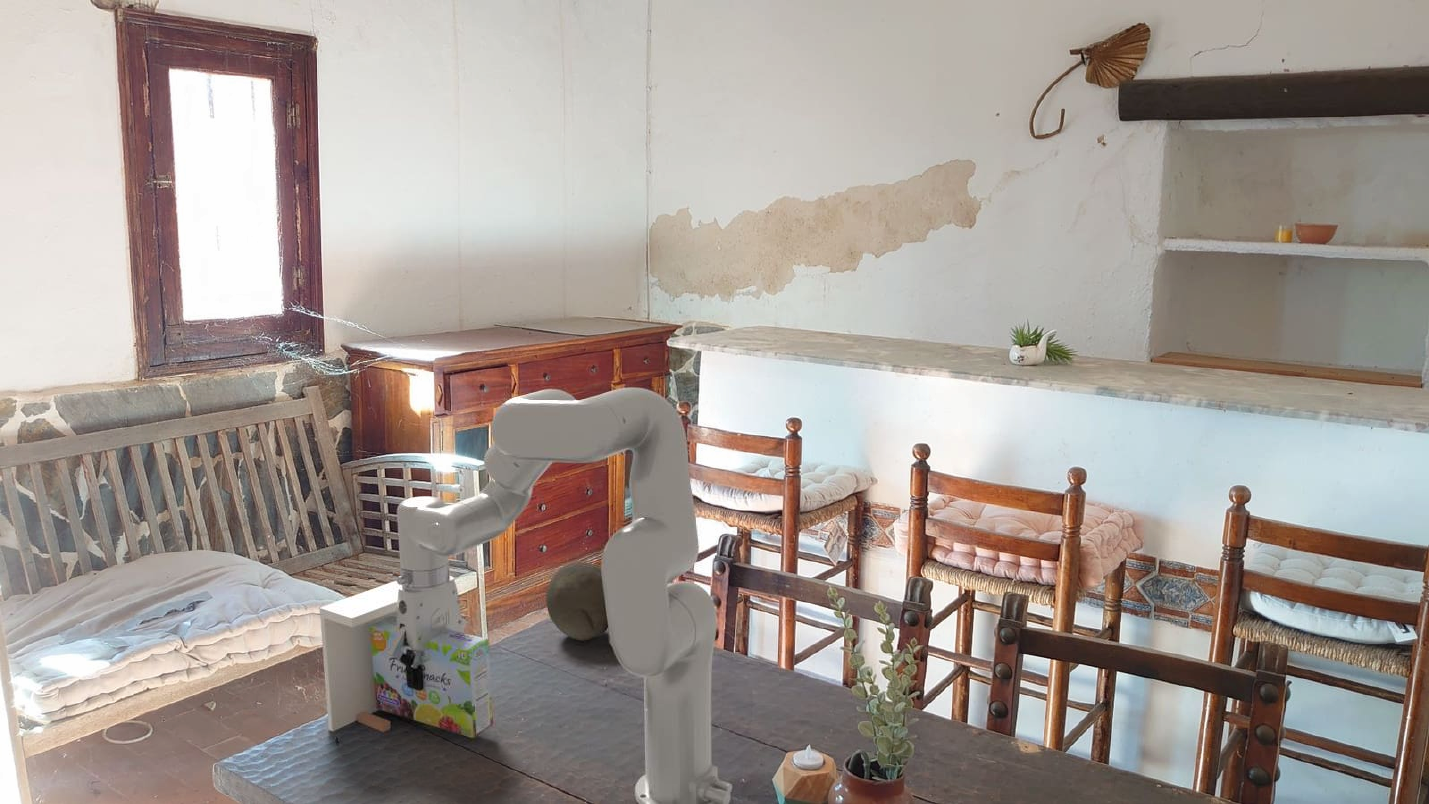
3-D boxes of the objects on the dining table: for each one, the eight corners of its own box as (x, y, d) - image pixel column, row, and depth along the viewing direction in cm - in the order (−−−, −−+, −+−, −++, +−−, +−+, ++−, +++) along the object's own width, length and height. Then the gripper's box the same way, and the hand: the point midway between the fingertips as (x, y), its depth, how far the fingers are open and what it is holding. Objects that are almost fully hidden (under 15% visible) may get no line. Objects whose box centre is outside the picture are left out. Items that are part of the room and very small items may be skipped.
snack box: (373, 711, 176) (367, 625, 173) (397, 698, 181) (392, 613, 178) (472, 739, 166) (468, 648, 164) (495, 724, 171) (491, 636, 168)
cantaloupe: (628, 629, 215) (627, 558, 212) (597, 656, 202) (596, 580, 199) (566, 620, 220) (564, 550, 217) (532, 646, 207) (529, 572, 204)
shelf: (455, 696, 185) (449, 581, 182) (360, 743, 169) (351, 618, 165) (424, 685, 190) (418, 572, 186) (328, 730, 173) (319, 607, 170)
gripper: (397, 595, 160) (404, 707, 163) (481, 564, 174) (486, 667, 177) (365, 585, 164) (372, 695, 167) (450, 556, 178) (455, 657, 182)
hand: (431, 679), depth 172 cm, fingers closed on snack box, 5 cm apart
